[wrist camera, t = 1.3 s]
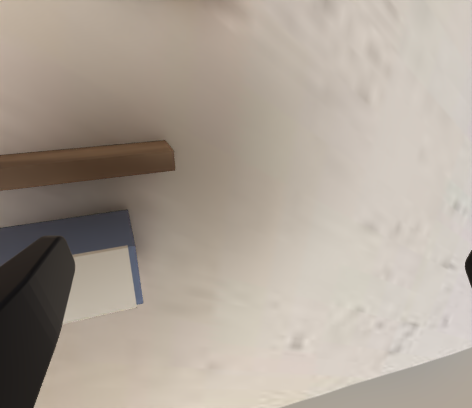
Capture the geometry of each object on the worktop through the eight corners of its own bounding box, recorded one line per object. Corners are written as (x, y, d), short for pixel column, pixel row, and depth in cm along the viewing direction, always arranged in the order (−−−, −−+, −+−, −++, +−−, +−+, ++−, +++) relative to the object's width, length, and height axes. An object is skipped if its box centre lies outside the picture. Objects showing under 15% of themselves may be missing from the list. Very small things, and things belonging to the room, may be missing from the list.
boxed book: (135, 259, 27) (143, 305, 22) (12, 281, 24) (-9, 340, 19) (127, 208, 25) (135, 246, 20) (-5, 227, 22) (-33, 275, 18)
